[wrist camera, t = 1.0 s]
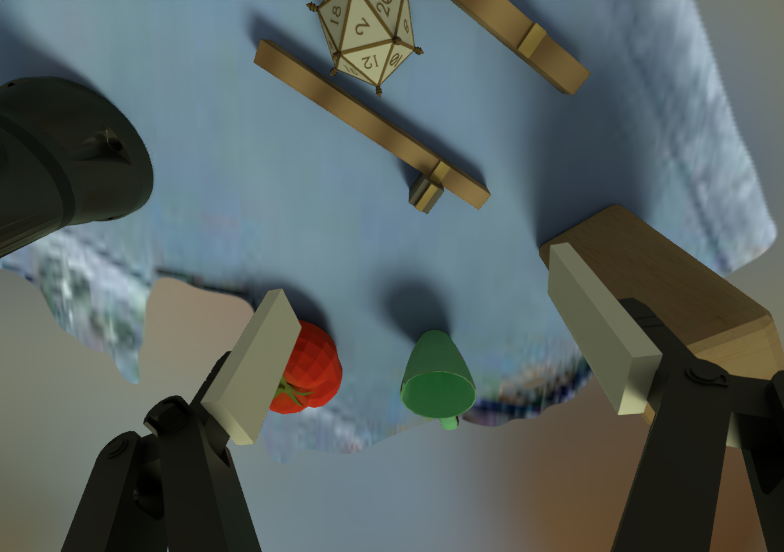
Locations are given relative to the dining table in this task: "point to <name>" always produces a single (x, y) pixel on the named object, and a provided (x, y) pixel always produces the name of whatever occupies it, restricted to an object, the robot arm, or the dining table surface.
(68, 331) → the dining table surface
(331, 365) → the tomato
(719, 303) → the wooden block
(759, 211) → the dining table surface
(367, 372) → the dining table surface
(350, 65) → the game die
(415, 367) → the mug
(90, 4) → the dining table surface
